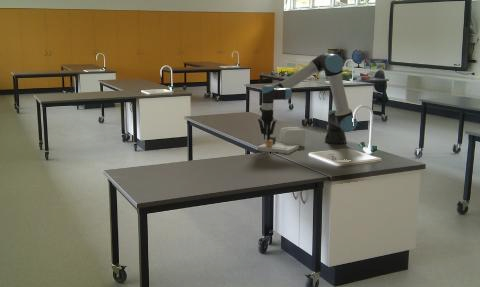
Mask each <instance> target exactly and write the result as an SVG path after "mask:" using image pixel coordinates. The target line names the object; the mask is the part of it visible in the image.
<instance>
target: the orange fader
mask: <svg viewBox="0 0 480 287" xmlns="http://www.w3.org/2000/svg"><path fill="white" fill-rule="evenodd" d="M267 146H268V147H272V146H273V140H267Z"/></svg>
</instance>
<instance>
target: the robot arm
mask: <svg viewBox="0 0 480 287" xmlns="http://www.w3.org/2000/svg"><path fill="white" fill-rule="evenodd" d="M344 64H345V63H344V60H343V58H342V56H341V55H339V54H336V53H327V52H325V53H322V54H319V55H318V56H316V57H315V58H313V59H312V60H310V61H309V63H308V64H307V65H305V66H304V67H302V68H300V69H299V70H297V71H296V72H294V73H293V74H291V75H289V76H287V77H286V78H285V79H283V80H282V81H280V82H278V83H277V84H275V85H271V84H270V85H269V84H264V85H262V89H261V117H260V118H258V119H257V121H258V124H259V128H260V133H261V134H263V140H264V144H265V145H267V140H270V137H271V136H272V135H273V134H274V130H275V127H276V124H277V122H278V120H276V119H275V118H274V101H282V100H283V101H287V100H288V101H289V100H291V98H292V97H293V92H292V89H293V88H295V87H296V86H297V85H299V84H300V83H302V82H303V81H305V80H307V79H309V78H310V77H312V76H313V75H315V74H319V73H321V72H324V75H325V77H326V78H328V82H329V86H330V91H331V93H332V94H331V95H332V98H333V102H334V103H333V104H334V107H335V109H332V110H331V109H330V110H329V111H328V115H327V116H328V119H327V132H326V135H325V136H324V142H325V143H327V144H333V145H340V144H339V143H344V142H346V143H347V136H346V133H350V132H353V131H354V130H355V129H356V127H357V124H358V120H357V118H356V117H355V119H354V126H353V122H352V118H353V116H354V115H353V111H352V110H353V109H351V108H350V107H349V103H348V99H347V94H346V91H345V87H344V82H343V78H342V74H343V72H344V71H343V68H344ZM344 144H345V143H344Z"/></svg>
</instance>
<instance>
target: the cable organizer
mask: <svg viewBox="0 0 480 287" xmlns="http://www.w3.org/2000/svg"><path fill="white" fill-rule="evenodd" d="M279 143H283V144H291V145H299V147H302V146H304V145H305V144H306V131H305V129H303V128H302V129H301V128H300V127H298V126H296V127H295V126H294V127H292V126H291V127H281V128H280V130H279Z"/></svg>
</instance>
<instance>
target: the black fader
mask: <svg viewBox="0 0 480 287" xmlns="http://www.w3.org/2000/svg"><path fill="white" fill-rule="evenodd" d="M270 140H273V143H277V141H276V140H277V138H276V136H272V135H270Z"/></svg>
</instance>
